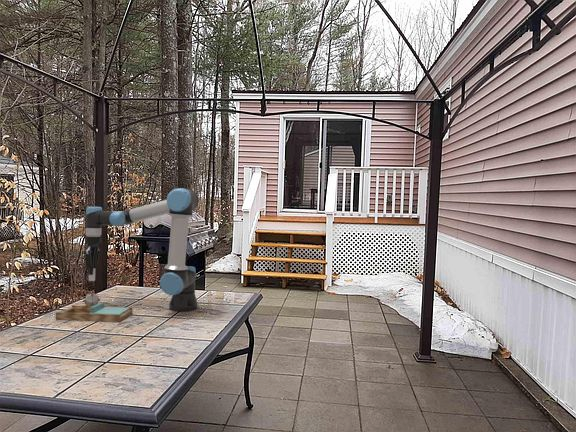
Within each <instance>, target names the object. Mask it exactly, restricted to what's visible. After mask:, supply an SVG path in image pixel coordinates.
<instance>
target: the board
mask: <svg viewBox="0 0 576 432" xmlns="http://www.w3.org/2000/svg"><path fill="white" fill-rule="evenodd" d="M91 307H93V306H86V305H78V304H77V305H76V304H75V305H71V307H69V308H67V309H65V310H63V311H60V312H58V311H57V312H55V320H58V321H59V320H60V321H76V322H77V321H79V322H106V323H107V322H108V323H121V322H123V321H124V320H125V319H127V318H128V317H130V316H132V315H133V307H129V308H130V310H128V311H126V312H125V313H123V314H121V315H110V314H90V311H91ZM116 307H117V308H127V307H125V306H123V307H121V306H116Z"/></svg>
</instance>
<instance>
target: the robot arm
mask: <svg viewBox="0 0 576 432" xmlns="http://www.w3.org/2000/svg"><path fill="white" fill-rule="evenodd" d="M199 203H200V198H199V196H198V194H197V192H196V191H194V190H192V189H188V188H182V187H179V188H174V189H172V190H171V191H170V192H169V193H168V194H167V197H166V199H165V200H161V201H156V202H153V203H150V204H146V205H142V206H137V207H134V208H130V209H127V210H123V211H121V210H119V211H117V210H116V211H115V210H113V211H112V210H111V211H110V210H103V208H102V206H88V207H86V213H85V229H84V230H85V235H86V236H85V237H84V238H85V240H84V243H85V244H87V249H85V250H84V255H85V262H86V263H85V264H86V269H88V282H95V281H96V269H98V266H99V261H100V253H101V247H100V248H99V244H102V237H101V236H102V226H111V227H112V226H114V227H121V226H124V225H125V226H128V225H132V224H133V223H137V222H141V221H145V220H149V219H153V218H156V217H160V216H164V215H169V216H170V217H171V220H170V221H171V222H170V224H171V225H170V235H169V245H168V246H169V247H168V256H167V264H166V265H165V266H164V268H163V269H164V270H163V274H162V276H161V277H160V280H159V287H160V289H161V290H162V292H163V293H164V294H166V295H169V296H171V299H170V301H169V304H168V305H169V306H168V308H169V310H170V311H171V310H172V311H175V312H176V311H177V312H189V311H195V310H197V309H198V306H199V304H198V301H197V298H196V277H197V276H196V274H197V272H196V271H197V270H196V267H195V266H191V265H190V266H188V265H186V260H187V259H186V258H187V246H188V245H187V244H188V234H189V222H190V218H191V217H192V216H193V211H194V210H195V209H196V208H197V207H198V205H199ZM194 309H195V310H194Z"/></svg>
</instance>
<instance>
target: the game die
mask: <svg viewBox="0 0 576 432" xmlns="http://www.w3.org/2000/svg"><path fill="white" fill-rule="evenodd" d="M85 294H86V295H85V298H84V299H83V301H82V303H84V304H85V306H95V305H97V304H99V303H100V301H101V298H100V297H99V296H98V292H97V291H96V292H95V293H88V292H86V293H85Z"/></svg>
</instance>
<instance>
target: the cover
mask: <svg viewBox="0 0 576 432" xmlns="http://www.w3.org/2000/svg"><path fill="white" fill-rule="evenodd" d="M117 307H118V306H105V302H104V301H103V302H102V301H101V302H98V304H97V305H95V306H93V307H91V311H90V314H110V315H121V314H123V313H125V312H126V311H128V310H130V308H131V307H126V308H117Z"/></svg>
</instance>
